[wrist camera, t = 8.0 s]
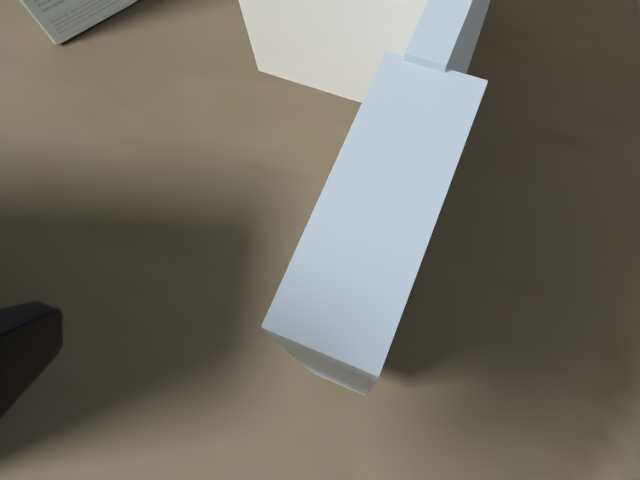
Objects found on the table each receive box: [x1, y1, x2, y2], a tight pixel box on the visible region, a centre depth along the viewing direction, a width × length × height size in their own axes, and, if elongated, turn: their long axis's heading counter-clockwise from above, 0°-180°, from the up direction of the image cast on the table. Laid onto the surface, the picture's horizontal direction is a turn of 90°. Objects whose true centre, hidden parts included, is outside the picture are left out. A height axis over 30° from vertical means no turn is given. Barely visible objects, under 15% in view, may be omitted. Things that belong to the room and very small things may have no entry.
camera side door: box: [261, 0, 491, 396], centre depth 15 cm, size 14×2×11 cm, turn 157°
